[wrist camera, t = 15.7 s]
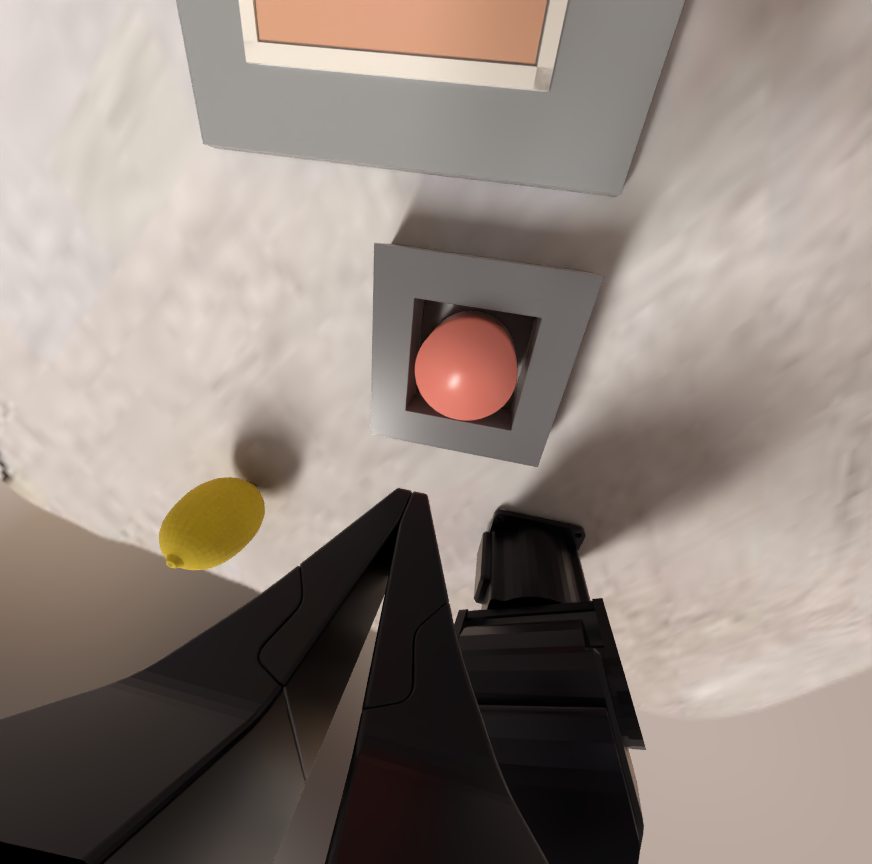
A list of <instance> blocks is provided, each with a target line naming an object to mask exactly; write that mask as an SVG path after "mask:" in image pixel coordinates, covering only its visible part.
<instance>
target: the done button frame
mask: <svg viewBox="0 0 872 864" xmlns="http://www.w3.org/2000/svg"><path fill="white" fill-rule="evenodd" d="M603 278H604V276H602V275H598V274H594V273H591V272H584V271H577V270H570V269H563V268H556V267H549V266H542V265H535V264H528V263H521V262H514V261H507V260H500V259H493V258H486V257H479V256H472V255H465V254H458V253H451V252H444V251H437V250H430V249H423V248H416V247H409V246H402V245H395V244H380V243H374V285H373V336H372V387H371V434H372V435H378V436H383V437H388V438H393V439H398V440H403V441H408V442H413V443H418V444H423V445H428V446H433V447H438V448H443V449H448V450H453V451H459V452H464V453H469V454H474V455H479V456H484V457H489V458H494V459H499V460H504V461H509V462H514V463H519V464H524V465H529V466H534V467H538V465H539V462H540V459H541V456H542V453H543V451H544V448H545V445H546V442H547V439H548V436H549V433H550V430H551V428H552V425H553V422H554V419H555V416H556V413H557V410H558V407H559V405H560V402H561V399H562V396H563V393H564V390H565V387H566V384H567V382H568V379H569V376H570V373H571V370H572V367H573V364H574V361H575V359H576V356H577V353H578V350H579V347H580V344H581V341H582V338H583V336H584V333H585V330H586V327H587V324H588V321H589V318H590V315H591V313H592V310H593V307H594V304H595V301H596V298H597V295H598V292H599V290H600V287H601V284H602V281H603ZM424 299H425V300H431V301H437V302H444V303H450V304H457V305H463V306H469V307H476V308H482V309H488V310H495V311H501V312H508V313H514V314H520V315H527V316H533V317H535V319H534V323H533V327H532V330H531V334H530V338H529V342H528V345H527V349H526V353H525V357H524V361H523V364H522V368H521V372H520V376H519V379H518V383H517V387H516V391H515V395H514V398H513V402H512V406H511V410H510V411H506V410H501V409H499V410H498V411H496V412H495V413H493V414H491V415H489V416H487V417H484V418H481V419H477V420H457V419H453V418H449V417H447V416H444V415H442V414H441V413H439V412H437V411H436V410H434V409H433V408H432V407H431V406H430V405H429V404H428V403H427V402H426V401H425V399H424V398H423V396H422V395H419V394H415V390H416V379H415V363H416V358H417V355H418V352H419V348H420V337H421V327H422V316H423V306H424Z"/></svg>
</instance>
